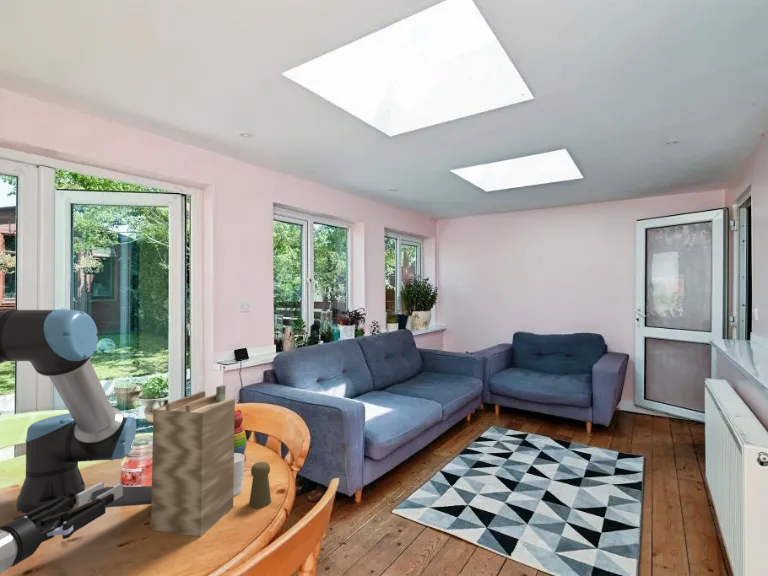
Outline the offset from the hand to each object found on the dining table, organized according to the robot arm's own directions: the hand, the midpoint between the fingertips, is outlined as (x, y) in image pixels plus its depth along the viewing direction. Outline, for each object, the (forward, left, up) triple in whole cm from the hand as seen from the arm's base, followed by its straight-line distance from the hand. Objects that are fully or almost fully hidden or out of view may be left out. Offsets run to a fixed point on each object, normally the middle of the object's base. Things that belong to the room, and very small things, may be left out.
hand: (111, 488), depth 97 cm
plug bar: (+1, +7, -7) cm, 10 cm away
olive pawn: (+26, +24, -12) cm, 37 cm away
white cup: (+14, +28, -13) cm, 33 cm away
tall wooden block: (+13, +13, -12) cm, 22 cm away
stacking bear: (+2, +48, -13) cm, 49 cm away
